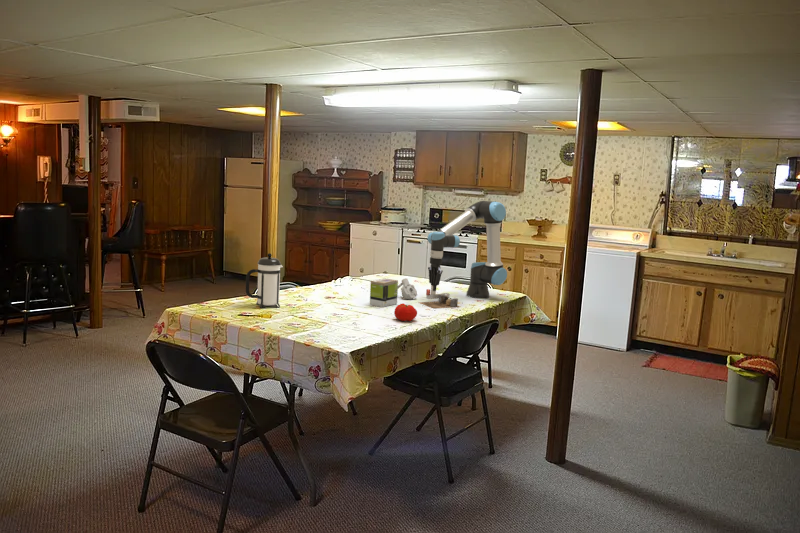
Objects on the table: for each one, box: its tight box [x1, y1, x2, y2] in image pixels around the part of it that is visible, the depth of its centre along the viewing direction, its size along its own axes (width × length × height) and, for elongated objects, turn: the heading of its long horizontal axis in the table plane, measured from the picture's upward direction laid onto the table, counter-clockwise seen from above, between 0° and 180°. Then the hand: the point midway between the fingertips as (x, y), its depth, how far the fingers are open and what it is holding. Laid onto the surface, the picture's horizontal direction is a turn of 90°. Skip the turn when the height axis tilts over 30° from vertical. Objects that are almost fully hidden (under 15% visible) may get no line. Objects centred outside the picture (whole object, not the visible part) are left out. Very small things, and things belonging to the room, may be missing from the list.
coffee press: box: [245, 252, 284, 309], centre depth 351 cm, size 17×16×30 cm
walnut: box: [446, 298, 451, 306], centre depth 379 cm, size 4×4×4 cm
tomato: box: [393, 303, 418, 322], centre depth 339 cm, size 13×12×8 cm
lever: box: [425, 288, 451, 304], centre depth 381 cm, size 17×5×8 cm, turn 123°
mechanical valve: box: [398, 278, 418, 301], centre depth 403 cm, size 10×18×15 cm
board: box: [417, 298, 461, 310], centre depth 381 cm, size 20×18×6 cm
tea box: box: [369, 278, 399, 308], centre depth 377 cm, size 15×10×15 cm, turn 145°
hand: (433, 295), depth 382 cm, fingers closed
